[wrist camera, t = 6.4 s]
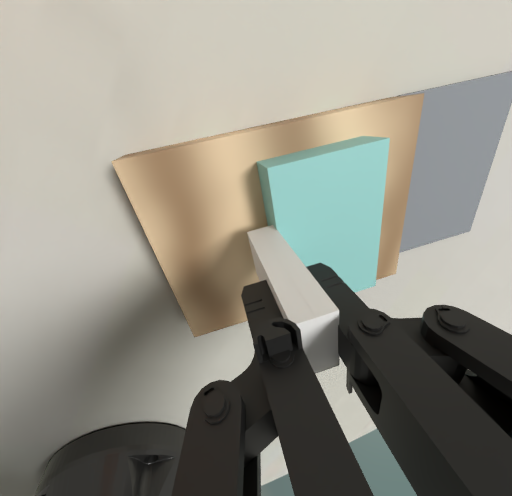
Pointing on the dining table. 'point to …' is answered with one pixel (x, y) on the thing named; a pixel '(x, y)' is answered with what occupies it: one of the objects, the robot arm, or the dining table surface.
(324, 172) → the turquoise rectangular block
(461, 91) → the mat
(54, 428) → the dining table surface
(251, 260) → the tan wooden board
